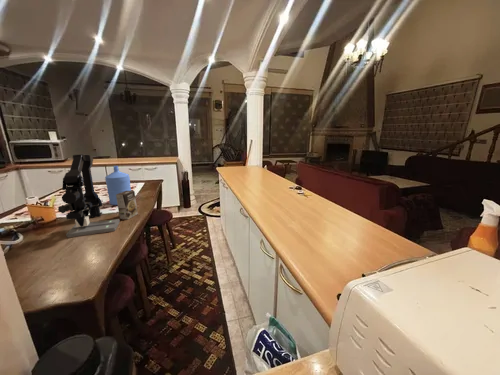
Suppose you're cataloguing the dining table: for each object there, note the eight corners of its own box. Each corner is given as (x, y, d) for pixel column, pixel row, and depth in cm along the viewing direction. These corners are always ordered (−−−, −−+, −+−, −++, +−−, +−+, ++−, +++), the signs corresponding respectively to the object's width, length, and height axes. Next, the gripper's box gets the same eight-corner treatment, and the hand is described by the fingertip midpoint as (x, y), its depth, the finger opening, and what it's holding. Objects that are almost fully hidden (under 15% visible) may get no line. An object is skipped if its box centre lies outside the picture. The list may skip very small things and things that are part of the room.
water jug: (126, 205, 160) (119, 168, 153) (105, 205, 161) (97, 168, 153) (137, 198, 175) (131, 164, 168) (117, 198, 176) (111, 164, 168)
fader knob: (79, 225, 122) (77, 217, 121) (90, 224, 124) (88, 216, 123) (76, 228, 119) (74, 220, 118) (87, 227, 120) (85, 218, 119)
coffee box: (128, 219, 136) (124, 194, 132) (119, 218, 138) (115, 194, 133) (138, 214, 145) (134, 190, 141) (129, 213, 146) (126, 190, 142)
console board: (76, 227, 126) (75, 223, 126) (119, 221, 133) (119, 218, 133) (67, 237, 114) (66, 233, 114) (114, 230, 121) (114, 227, 121)
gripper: (66, 194, 123) (72, 220, 127) (49, 205, 106) (57, 234, 110) (89, 192, 126) (95, 217, 131) (77, 202, 109) (83, 230, 114)
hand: (83, 224), depth 121 cm, fingers closed on fader knob, 4 cm apart
